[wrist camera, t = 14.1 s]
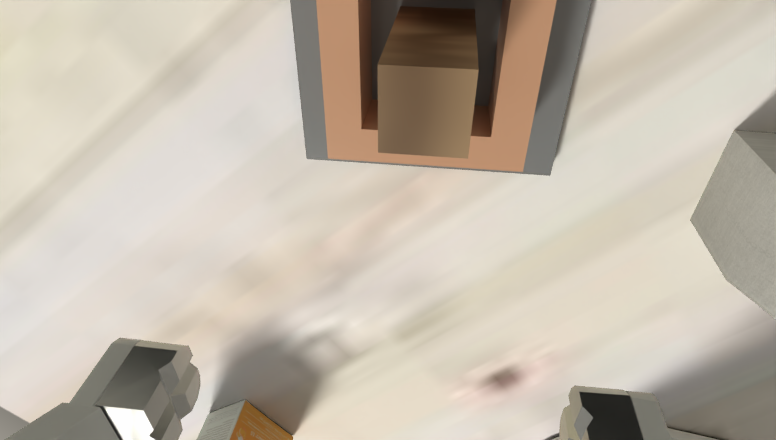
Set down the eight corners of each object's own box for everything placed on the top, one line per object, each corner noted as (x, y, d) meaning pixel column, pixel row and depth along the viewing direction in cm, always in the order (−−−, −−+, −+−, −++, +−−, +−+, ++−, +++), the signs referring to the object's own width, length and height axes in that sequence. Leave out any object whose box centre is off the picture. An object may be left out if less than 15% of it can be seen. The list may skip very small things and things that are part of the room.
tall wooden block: (474, 9, 27) (478, 69, 20) (467, 81, 29) (467, 158, 22) (400, 6, 27) (377, 64, 20) (398, 77, 30) (377, 152, 22)
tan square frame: (616, -128, 23) (647, -122, 19) (548, 167, 33) (559, 212, 29) (282, -133, 25) (248, -128, 21) (310, 151, 35) (290, 191, 31)
